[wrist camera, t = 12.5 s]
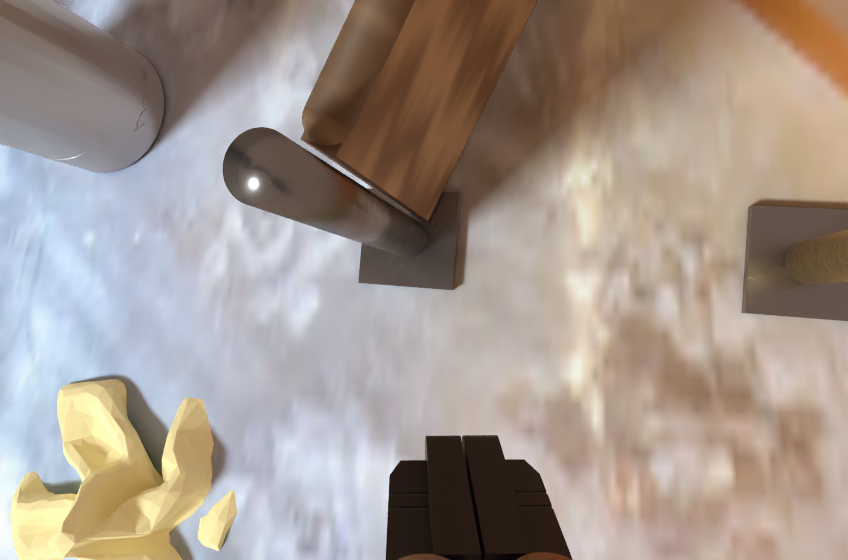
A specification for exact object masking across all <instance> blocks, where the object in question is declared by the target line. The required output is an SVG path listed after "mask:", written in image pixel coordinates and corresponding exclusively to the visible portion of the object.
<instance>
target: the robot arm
mask: <svg viewBox="0 0 848 560" xmlns="http://www.w3.org/2000/svg"><path fill="white" fill-rule="evenodd" d="M163 114H164V93H163V88H162V83H161V81H160V78H159V76H158V74H157V71H156V70H155V69H154V67H153V66H152V64H151V63H150V62H149V61H148V60H147V59H146V58H145V57H144V56H142V55H141V54H140V53H138V52H137V51H135V50H133V49H132V48H130V47H129V46H127V45H125V44H124V43H122V42H120V41H119V40H117V39H116V38H114V37H112V36H111V35H109V34H107V33H106V32H104V31H103V30H101V29H100V28H98V27H97V26H95V25H93V24H92V23H90V22H88V21H87V20H85V19H84V18H82V17H80V16H79V15H77V14H75V13H74V12H72V11H71V10H69V9H67V8H66V7H64V6H63V5H61V4H59V3H58V2H56V1H54V0H0V144H1V145H5V146H8V147H11V148H15V149H18V150H22V151H25V152H28V153H32V154H35V155H39V156H42V157H44V158H48V159H51V160H55V161H58V162H62V163H65V164H69V165H72V166H76V167H79V168H83V169H86V170H90V171H93V172H103V173H108V172H113V171H119V170H121V169H123V168H125V167H128V166H130V165H131V164H133V163H134V162H135V161H137V160H138V159H140V158H141V157H142V156H143V155H144V153H145V152H146V151H147V150H148V149H149V148H150V146H151V145H152V143H153V142H154V140H155V138H156V137H157V134H158V132H159V129H160V127H161V124H162V119H163ZM386 560H572V557H571V554H570V552H569V549H568V547H567V544H566V541H565V539H564V536H563V534H562V531H561V528H560V526H559V523H558V520H557V518H556V515H555V513H554V510H553V509H552V505H551V502H550V500H549V497H548V494H546V489H545V487H544V484H543V481H542V479H541V476H540V474H539V473H538V472H537V471H536V470H535V469H534V468H533V467H532V466H530V465H529V464H528V463H527V462H526V461H525V460H505V458H504V455H503V451H502V448H501V445H500V441H499V438H498V436H497V435H474V436H462V442H461V437H460V436H426V439H425V460H408V461H400V462H399V464H398V465H397V466H396V468H395V469H394V470H393V472H392V473H391V474H390V481H389V502H388V523H387V545H386Z"/></svg>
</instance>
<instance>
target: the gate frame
mask: <svg viewBox="0 0 848 560" xmlns="http://www.w3.org/2000/svg"><path fill="white" fill-rule="evenodd" d="M223 177H224V181H225V184H226V186H227V188H228V190H229V191H230V193H231V194H232V195H233V196H234V197H235V198H236V199H237V200H239V201H240V202H242V203H244V204H247V205H250V206H253V207H256V208H259V209H262V210H265V211H268V212H271V213H274V214H277V215H280V216H283V217H286V218H289V219H292V220H295V221H298V222H301V223H304V224H307V225H310V226H313V227H316V228H319V229H322V230H324V231H327V232H330V233H333V234H336V235H339V236H342V237H345V238H348V239H351V240H354V241H357V242H360V243H362V247H361V259H360V271H359V283H368V284H381V285H394V286H407V287H419V288H432V289H445V290H453V287H454V275H455V262H456V250H457V237H458V225H459V212H460V200H461V194H460V193H455V192H442V194H441V196H440V198H439V200H438V202H437V204H436V206H435V208H434V210H433V212H432V214H431V216H430V218H429V220H428V221H427V220H425V219H423V218H421V217H419V216H417V215H415V214H413V213H411V212H409V211H407V210H405V209H404V208H402V207H401V206H399V205H398V204H396V203H395V202H393V201H392V200H390V199H389V198H387V197H386V196H384V195H383V194H381V193H380V192H378V191H377V190H375V189H366V188H365V187H363V186H362V185H360V184H359V183H357V182H355V181H354V180H352V179H351V178H349V177H348V176H346V175H345V174H343V173H341V172H340V171H338V170H337V169H335V168H334V167H332V166H331V165H329V164H327V163H326V162H324V161H323V160H321V159H320V158H318V157H317V156H315V155H313V154H312V153H310V152H309V151H307V150H306V149H304V148H303V147H301V146H299V145H298V144H296V143H295V142H293V141H292V140H290V139H289V138H287V137H286V136H284V135H282V134H281V133H279V132H277V131H276V130H273V129H270V128H264V127H259V128H253V129H250V130H247V131H245V132H243V133H242V134H240V135H239V136H238V137H237V138H236V139H235V140H234V141H233V142H232V143H231V145H230V146H229V148H228V150H227V152H226V154H225V157H224V162H223ZM742 313H752V314H765V315H777V316H790V317H803V318H816V319H828V320H841V321H848V209H828V208H804V207H781V206H758V205H752V206H750V207H749V210H748V225H747V240H746V255H745V270H744V285H743V300H742Z"/></svg>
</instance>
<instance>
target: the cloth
mask: <svg viewBox="0 0 848 560" xmlns="http://www.w3.org/2000/svg"><path fill="white" fill-rule="evenodd" d="M57 402H58V418H59V423H60V428H61V433H62V439H63V452H64V455H65V457H66V459H67V460H68V462H69V463H70V464H71V465H72V466H73V467H74V468H76V470H77V472H78V474H79V476H80V478H81V480H82V483H81V485H80V488H79V491H78V493H77V494H71V493H70V494H57V495H56V494H54V493H53V492H48V490H47V489H46V488H45V487H44V485H43V483H42V481H41V479H40V478H39V476H38V474H37V473H35V472H33V471H31V472H29V473H28V474H26V475H25V476H24V478H23V479H22V481H21V483H20V485H19V486H18V488H17V490H16V492H15V494H14V495H13V498H12V505H11V513H10V520H11V530H12V539H13V543H14V547H15V551H16V553H17V556H18V559H19V560H61V559H63V558H65V557H73V558H78V559H83V560H182V558H181V557H180V555H179V554H178V552H177V551H176V550H175V548H174V547H173V546H172V545H171V544H170V531H172V530H173V529H174V528H175V527H176V526H177V525H178V524H180V523H181V522H182V521H184V520H185V519H187V518H188V517H190V516H191V515H192V514H193V513H194V512H195V511H196V510H197V509H198V508H199V507H200V506H201V504H202V503H203V502H204V500H205V498H206V496H207V494H208V492H209V490H210V488H211V479H212V476H213V475H212V463H211V455H212V451H213V446H214V441H213V437H212V433H211V429H210V425H209V421H208V417H207V414H206V410H205V406H204V402H203V399H195V398H189V397H187V398H185V399H184V401H183V402H182V404H181V405H180V407H179V409H178V411H177V414H176V416H175V419H174V421H173V424H172V426H171V428H170V431H169V433H168V436H167V439H166V443H165V448H164V452H163V456H162V476H163V478H162V477H161V476H160V475H159V473H158V472H157V471H156V469H155V468H154V466H153V464H152V462H151V460H150V458H149V456H148V454H147V452H146V450H145V448H144V446H143V444H142V442H141V440H140V438H139V436H138V434H137V432H136V430H135V429H134V427H133V426H132V424H131V423H130V421H129V419H128V417H127V410H126V405H127V391H126V387H125V384H124V383H123V382H121V381H120V380H118V379H109V380H101V381H89V382H80V383H73V384H68V385H66V386H64V387H63V388H62V389H61V390H60V391H59V395H58V398H57ZM236 514H237V508H236V502H235V495H234V491H233V490H230V492H229V493H228V494H227V495H226V496H225V497H224V498H223V499H221V500H220V501H219V502H218V503H216V504H215V505H214V506H213V507H212V509H211V510H210V512H209V513H208V515H206V516H204V517H202V518H201V519H200V525H199V530H198V539H199V540H200V542H201V543H202V544H203V545H204V546H207V547H209V548H212V549H215V550H217V551H220V549H221V547H222V545H223V542H224V539H225V536H226V534H227V532H228V530H229V528H230V527H231V525H232V523H233V521H234V518H235V516H236Z"/></svg>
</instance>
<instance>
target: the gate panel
mask: <svg viewBox="0 0 848 560" xmlns="http://www.w3.org/2000/svg"><path fill="white" fill-rule="evenodd" d="M536 1H537V0H355V2H354V4H353V6H352V8H351V10H350V12H349V14H348V17H347V19H346V21H345V23H344V25H343V27H342V29H341V31H340V33H339V36H338V38H337V40H336V42H335V44H334V46H333V48H332V50H331V52H330V55H329V57H328V59H327V61H326V63H325V65H324V67H323V69H322V71H321V73H320V76H319V78H318V80H317V82H316V84H315V86H314V88H313V90H312V92H311V95H310V97H309V99H308V101H307V103H306V105H305V108H304V110H303V115H302V123H303V127H304V130H305V131H304V133H303V135H302V137H301V140H302V141H304V142H305V143H307V144H308V145H310V146H311V147H313V148H314V149H316V150H317V151H319V152H320V153H322V154H323V155H325V156H326V157H328V158H329V159H331V160H332V161H334V162H335V163H337V164H338V165H340V166H341V167H343V168H344V169H346V170H347V171H349V172H350V173H352V174H353V175H355V176H356V177H358V178H359V179H361V180H362V181H364V182H365V183H367V184H368V185H369V186H371V187H372V188H374V189H375V190H377V191H378V192H380V193H381V194H383V195H384V196H386V197H387V198H389V199H390V200H392V201H393V202H395V203H396V204H398V205H399V206H401V207H402V208H404V209H405V210H407V211H409V212H411V213H413V214H415V215H417V216H419V217H421V218H423V219H425V220H427V221H428V220H429V218H430V216H431V214H432V212H433V210H434V208H435V206H436V204H437V202H438V200H439V198H440V196H441V194H442V192H443V190H444V188H445V186H446V184H447V182H448V180H449V178H450V175H451V173H452V171H453V169H454V167H455V165H456V163H457V161H458V159H459V157H460V155H461V153H462V151H463V149H464V147H465V145H466V143H467V141H468V139H469V137H470V135H471V133H472V131H473V129H474V127H475V125H476V123H477V121H478V119H479V117H480V115H481V113H482V111H483V109H484V107H485V104H486V102H487V100H488V98H489V96H490V94H491V92H492V90H493V88H494V86H495V84H496V82H497V80H498V78H499V76H500V74H501V72H502V70H503V68H504V66H505V64H506V62H507V60H508V58H509V56H510V54H511V52H512V50H513V48H514V46H515V44H516V42H517V40H518V38H519V36H520V33H521V31H522V29H523V27H524V25H525V23H526V21H527V19H528V17H529V15H530V13H531V11H532V9H533V7H534V5H535V3H536Z"/></svg>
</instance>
